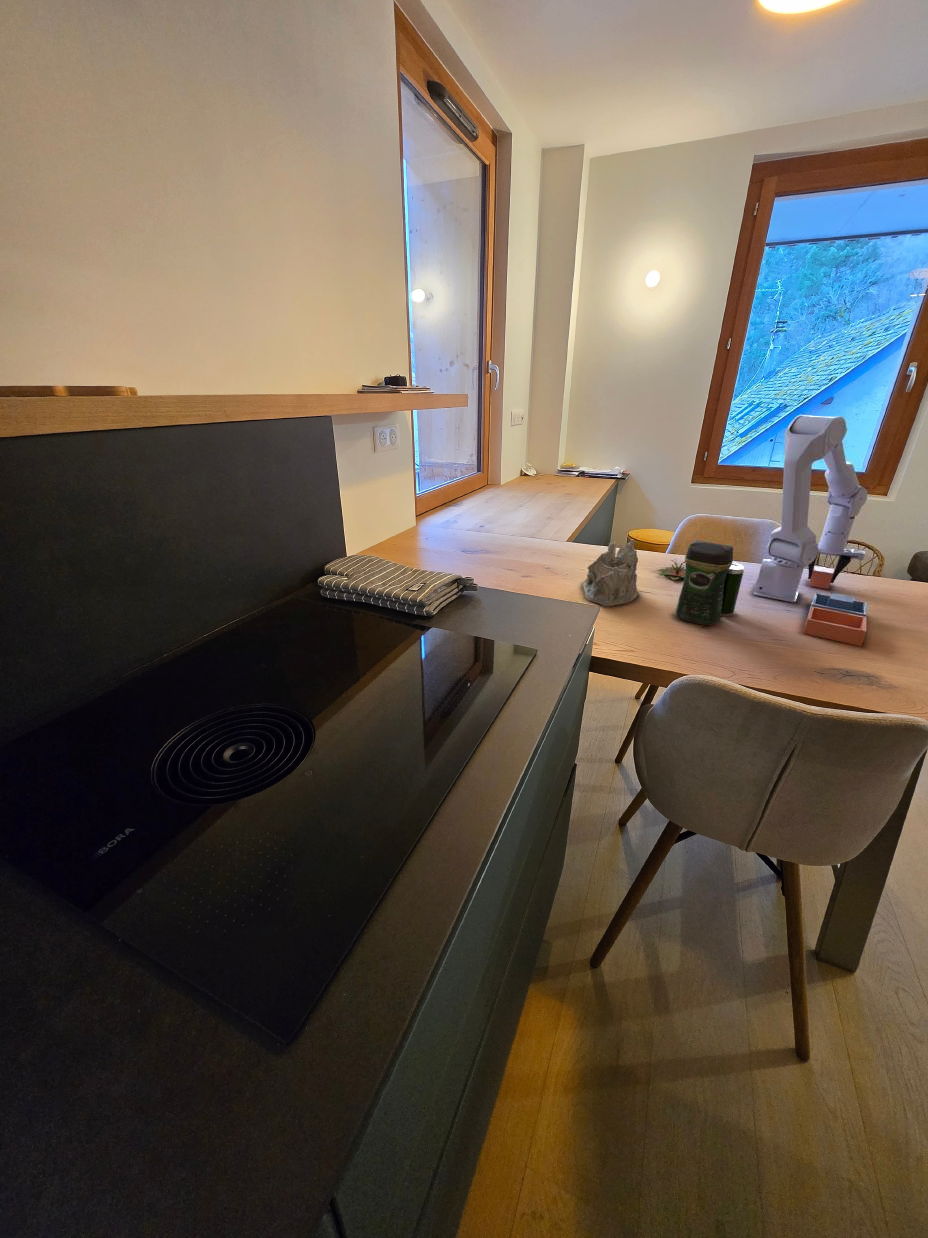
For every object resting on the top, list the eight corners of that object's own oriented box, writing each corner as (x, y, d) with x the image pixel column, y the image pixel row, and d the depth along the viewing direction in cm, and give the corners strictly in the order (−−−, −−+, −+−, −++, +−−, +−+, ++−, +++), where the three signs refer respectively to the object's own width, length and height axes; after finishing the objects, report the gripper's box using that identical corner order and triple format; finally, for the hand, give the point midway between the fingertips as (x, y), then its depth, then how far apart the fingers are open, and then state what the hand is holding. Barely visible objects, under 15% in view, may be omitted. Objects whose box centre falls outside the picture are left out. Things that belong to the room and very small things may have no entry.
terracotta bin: (803, 633, 110) (807, 619, 108) (806, 619, 116) (811, 606, 115) (860, 646, 104) (866, 631, 103) (861, 631, 111) (866, 617, 109)
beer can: (725, 618, 117) (736, 571, 112) (704, 611, 121) (714, 564, 116) (737, 613, 120) (749, 566, 115) (717, 605, 124) (727, 560, 119)
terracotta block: (808, 585, 135) (813, 570, 133) (810, 580, 138) (814, 565, 136) (828, 589, 132) (833, 573, 130) (829, 584, 135) (834, 568, 133)
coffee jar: (723, 618, 118) (740, 543, 110) (712, 629, 112) (730, 551, 104) (682, 607, 123) (695, 535, 115) (670, 618, 118) (683, 543, 110)
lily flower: (671, 584, 137) (673, 569, 135) (646, 570, 148) (649, 556, 146) (708, 580, 140) (711, 565, 138) (682, 566, 150) (684, 552, 148)
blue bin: (807, 617, 117) (811, 604, 116) (810, 605, 123) (814, 592, 122) (861, 628, 112) (866, 614, 110) (862, 615, 118) (867, 602, 116)
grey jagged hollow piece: (602, 577, 143) (607, 527, 136) (649, 597, 131) (657, 543, 123) (563, 592, 136) (565, 540, 128) (608, 614, 124) (614, 559, 116)
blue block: (823, 615, 117) (829, 598, 115) (825, 609, 120) (830, 592, 118) (847, 620, 114) (853, 602, 112) (847, 613, 118) (853, 596, 116)
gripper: (871, 532, 127) (853, 581, 133) (805, 524, 135) (791, 570, 141) (871, 538, 122) (853, 589, 128) (802, 529, 130) (788, 578, 136)
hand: (820, 580), depth 134 cm, fingers closed on terracotta block, 4 cm apart
